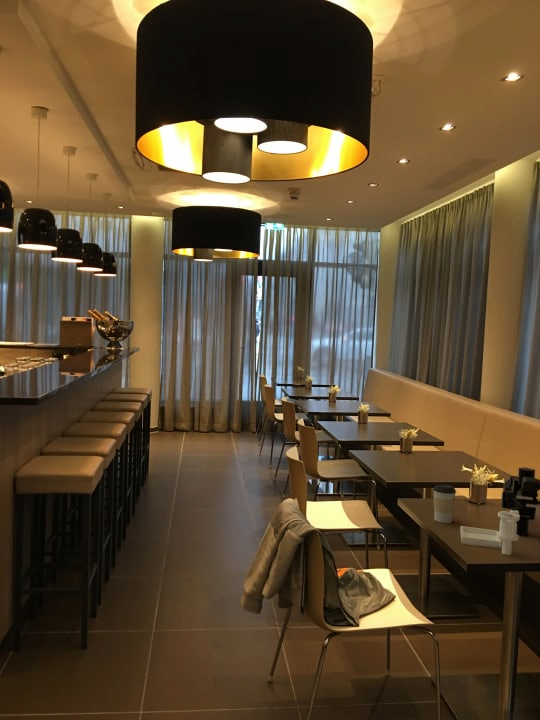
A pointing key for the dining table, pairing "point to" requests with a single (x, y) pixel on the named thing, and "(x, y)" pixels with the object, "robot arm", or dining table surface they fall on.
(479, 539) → the white square tray
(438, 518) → the coffee cup
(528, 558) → the dining table surface
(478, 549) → the dining table surface
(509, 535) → the white flanged column
